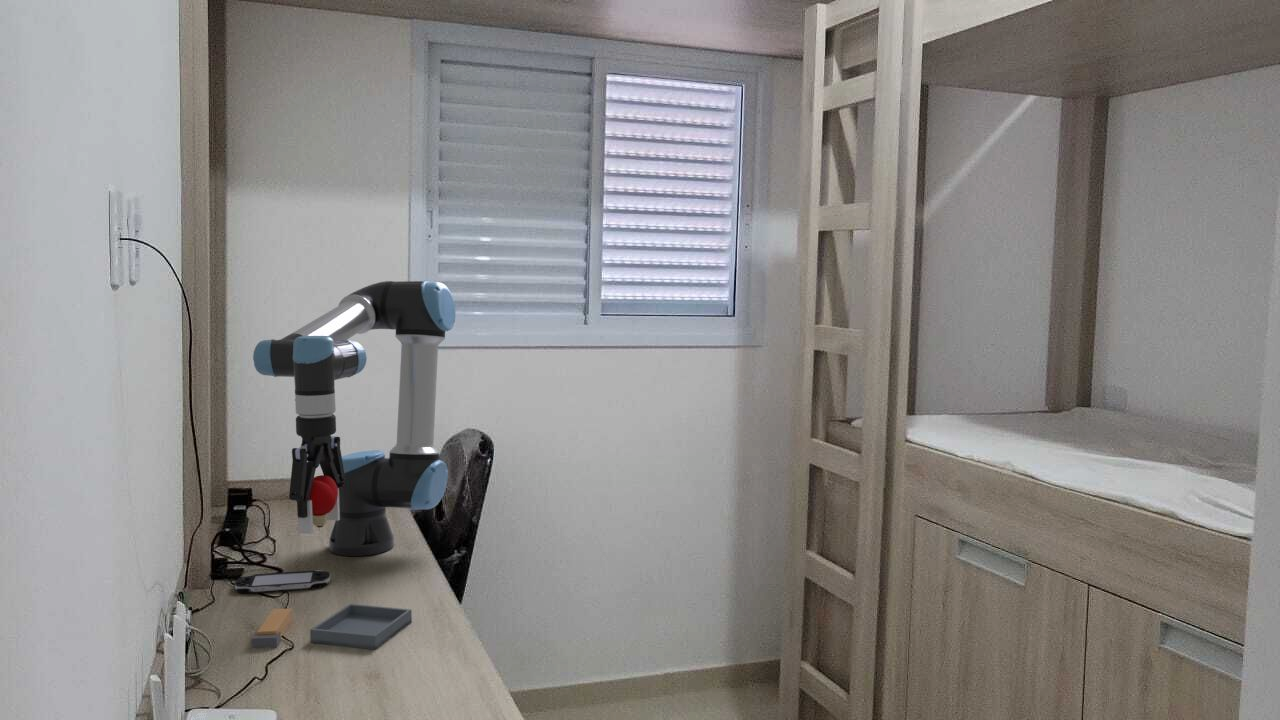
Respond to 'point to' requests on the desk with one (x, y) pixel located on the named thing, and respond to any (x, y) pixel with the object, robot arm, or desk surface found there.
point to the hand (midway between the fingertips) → (319, 526)
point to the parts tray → (361, 626)
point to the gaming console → (282, 582)
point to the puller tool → (272, 629)
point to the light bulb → (322, 498)
